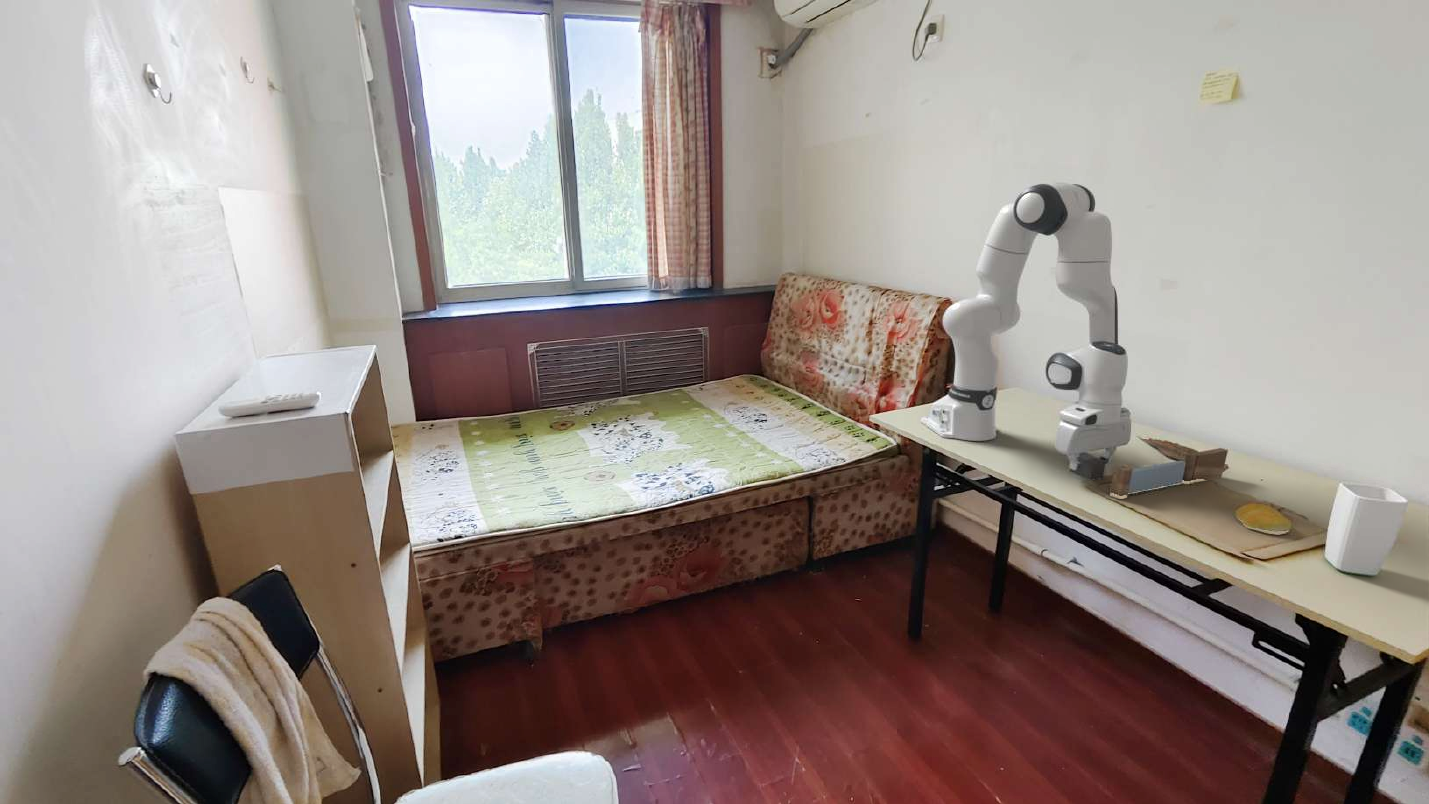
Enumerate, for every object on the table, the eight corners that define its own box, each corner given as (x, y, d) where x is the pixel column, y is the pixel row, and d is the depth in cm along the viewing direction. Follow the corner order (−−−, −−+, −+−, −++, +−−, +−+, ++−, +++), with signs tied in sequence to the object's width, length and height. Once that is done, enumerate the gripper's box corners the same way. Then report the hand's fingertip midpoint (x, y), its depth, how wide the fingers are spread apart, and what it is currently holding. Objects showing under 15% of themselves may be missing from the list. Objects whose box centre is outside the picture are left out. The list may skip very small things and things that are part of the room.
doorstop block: (1069, 471, 158) (1072, 454, 156) (1081, 469, 159) (1084, 452, 158) (1090, 480, 152) (1093, 463, 151) (1102, 478, 153) (1106, 460, 152)
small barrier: (1109, 495, 144) (1114, 466, 142) (1212, 474, 154) (1219, 447, 152) (1119, 499, 142) (1124, 470, 140) (1223, 478, 152) (1229, 450, 150)
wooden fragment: (1240, 472, 156) (1241, 468, 156) (1198, 474, 155) (1199, 470, 155) (1161, 437, 181) (1161, 433, 180) (1124, 438, 180) (1125, 435, 179)
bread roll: (1250, 535, 127) (1255, 516, 126) (1228, 514, 135) (1232, 497, 134) (1300, 539, 125) (1305, 521, 124) (1274, 518, 133) (1279, 501, 132)
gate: (1121, 493, 144) (1126, 470, 143) (1176, 482, 150) (1180, 460, 148) (1126, 495, 143) (1131, 472, 142) (1181, 484, 149) (1186, 462, 147)
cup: (1333, 574, 113) (1357, 497, 108) (1314, 554, 119) (1335, 481, 115) (1387, 582, 110) (1414, 504, 106) (1364, 561, 117) (1388, 486, 112)
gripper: (1118, 403, 157) (1109, 455, 161) (1054, 412, 150) (1046, 467, 154) (1142, 410, 151) (1133, 464, 155) (1077, 420, 145) (1068, 477, 149)
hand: (1089, 466), depth 155 cm, fingers open, 8 cm apart
